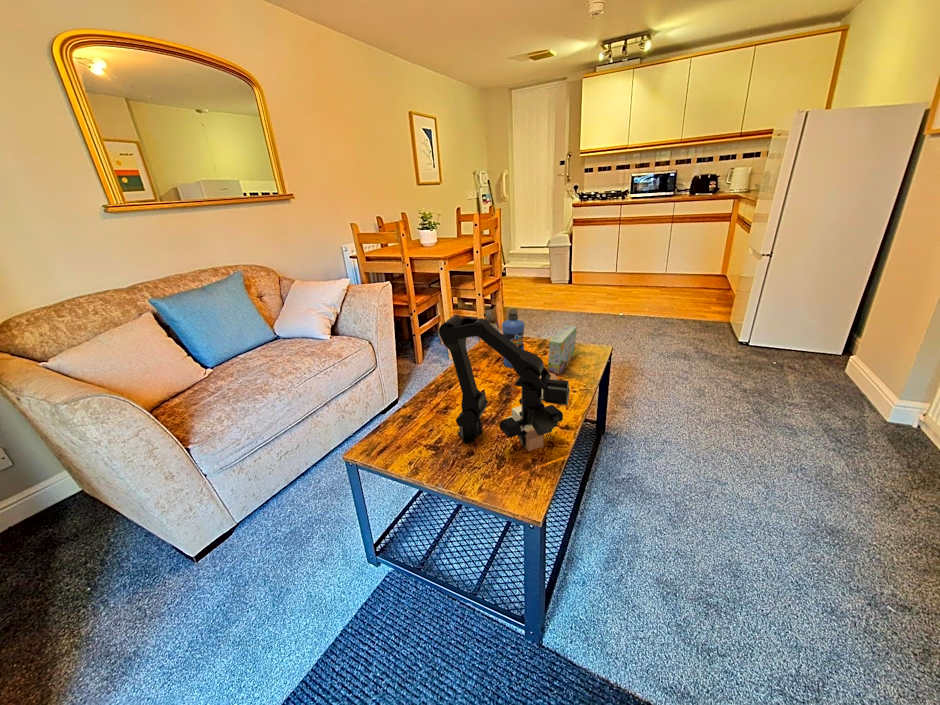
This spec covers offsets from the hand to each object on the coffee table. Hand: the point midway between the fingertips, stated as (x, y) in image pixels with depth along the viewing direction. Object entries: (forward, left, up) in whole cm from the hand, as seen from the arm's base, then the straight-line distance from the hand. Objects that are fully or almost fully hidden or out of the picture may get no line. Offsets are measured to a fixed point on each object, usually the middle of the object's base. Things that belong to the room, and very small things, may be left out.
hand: (531, 444), depth 119 cm
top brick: (0, 0, -1) cm, 1 cm away
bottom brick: (+6, +11, 0) cm, 13 cm away
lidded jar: (+20, +24, -1) cm, 31 cm away
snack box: (+42, +42, -1) cm, 59 cm away
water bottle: (+25, +54, -1) cm, 60 cm away
